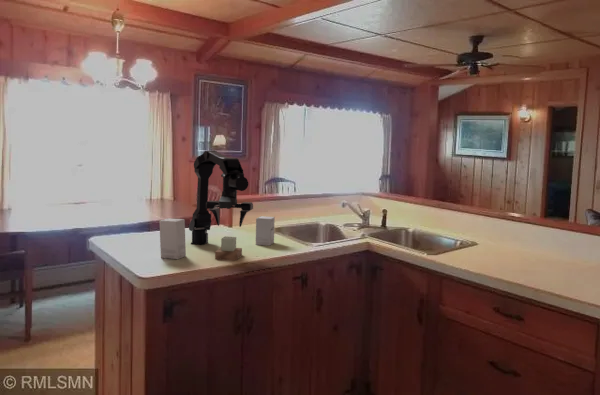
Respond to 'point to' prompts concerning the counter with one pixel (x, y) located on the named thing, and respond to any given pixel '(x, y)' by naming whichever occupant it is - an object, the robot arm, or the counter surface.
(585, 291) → the counter surface
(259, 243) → the supplement box
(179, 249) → the skincare box
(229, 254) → the walnut block
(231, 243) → the sage cube
